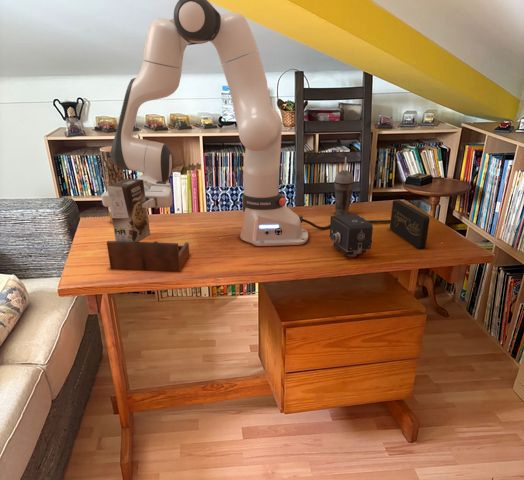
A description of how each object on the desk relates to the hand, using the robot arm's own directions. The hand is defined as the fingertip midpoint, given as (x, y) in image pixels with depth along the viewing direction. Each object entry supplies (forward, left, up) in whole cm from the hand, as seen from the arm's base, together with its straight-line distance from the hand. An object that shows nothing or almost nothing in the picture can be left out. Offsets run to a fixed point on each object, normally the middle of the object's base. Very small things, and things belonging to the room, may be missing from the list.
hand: (129, 206), depth 151 cm
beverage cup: (-62, -54, -16) cm, 83 cm away
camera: (-63, -13, -16) cm, 66 cm away
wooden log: (+17, -37, -16) cm, 44 cm away
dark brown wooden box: (-5, 0, -16) cm, 17 cm away
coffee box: (0, 0, -10) cm, 10 cm away
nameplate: (-82, -28, -16) cm, 88 cm away
